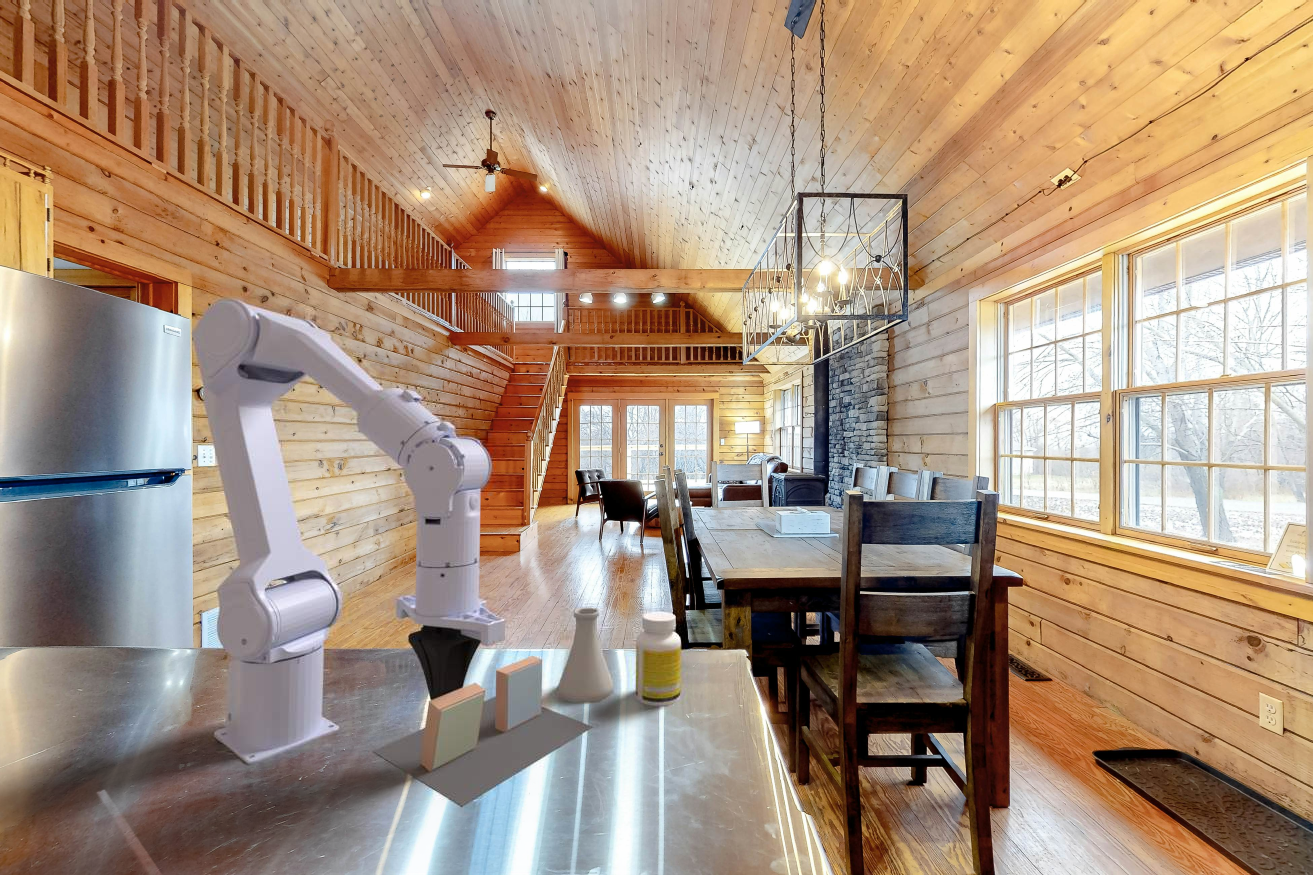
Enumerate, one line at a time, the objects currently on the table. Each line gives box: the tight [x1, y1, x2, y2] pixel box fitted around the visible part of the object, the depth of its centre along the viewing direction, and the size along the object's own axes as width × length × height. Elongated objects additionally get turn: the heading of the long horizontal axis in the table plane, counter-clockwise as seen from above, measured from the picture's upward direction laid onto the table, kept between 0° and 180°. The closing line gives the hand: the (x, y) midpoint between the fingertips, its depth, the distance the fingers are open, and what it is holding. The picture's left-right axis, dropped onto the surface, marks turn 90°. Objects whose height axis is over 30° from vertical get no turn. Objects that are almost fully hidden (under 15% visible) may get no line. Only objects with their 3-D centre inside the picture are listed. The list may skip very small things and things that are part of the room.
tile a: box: [420, 682, 486, 772], centre depth 52 cm, size 2×5×6 cm, turn 145°
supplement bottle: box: [635, 611, 682, 707], centre depth 66 cm, size 5×5×10 cm
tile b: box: [495, 655, 543, 733], centre depth 59 cm, size 2×5×6 cm, turn 145°
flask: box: [556, 606, 615, 704], centre depth 67 cm, size 7×7×10 cm
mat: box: [372, 695, 594, 807], centre depth 55 cm, size 14×16×1 cm
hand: (445, 704), depth 53 cm, fingers closed
